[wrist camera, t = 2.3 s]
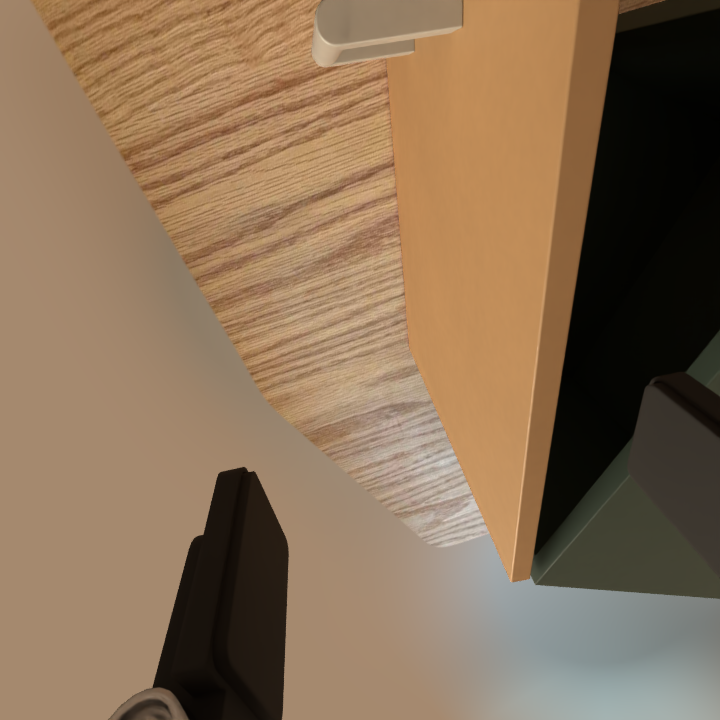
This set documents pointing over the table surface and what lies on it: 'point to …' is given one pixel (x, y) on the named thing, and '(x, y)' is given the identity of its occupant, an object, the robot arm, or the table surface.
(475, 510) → the table surface
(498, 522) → the cupboard door
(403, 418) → the table surface
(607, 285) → the cupboard
